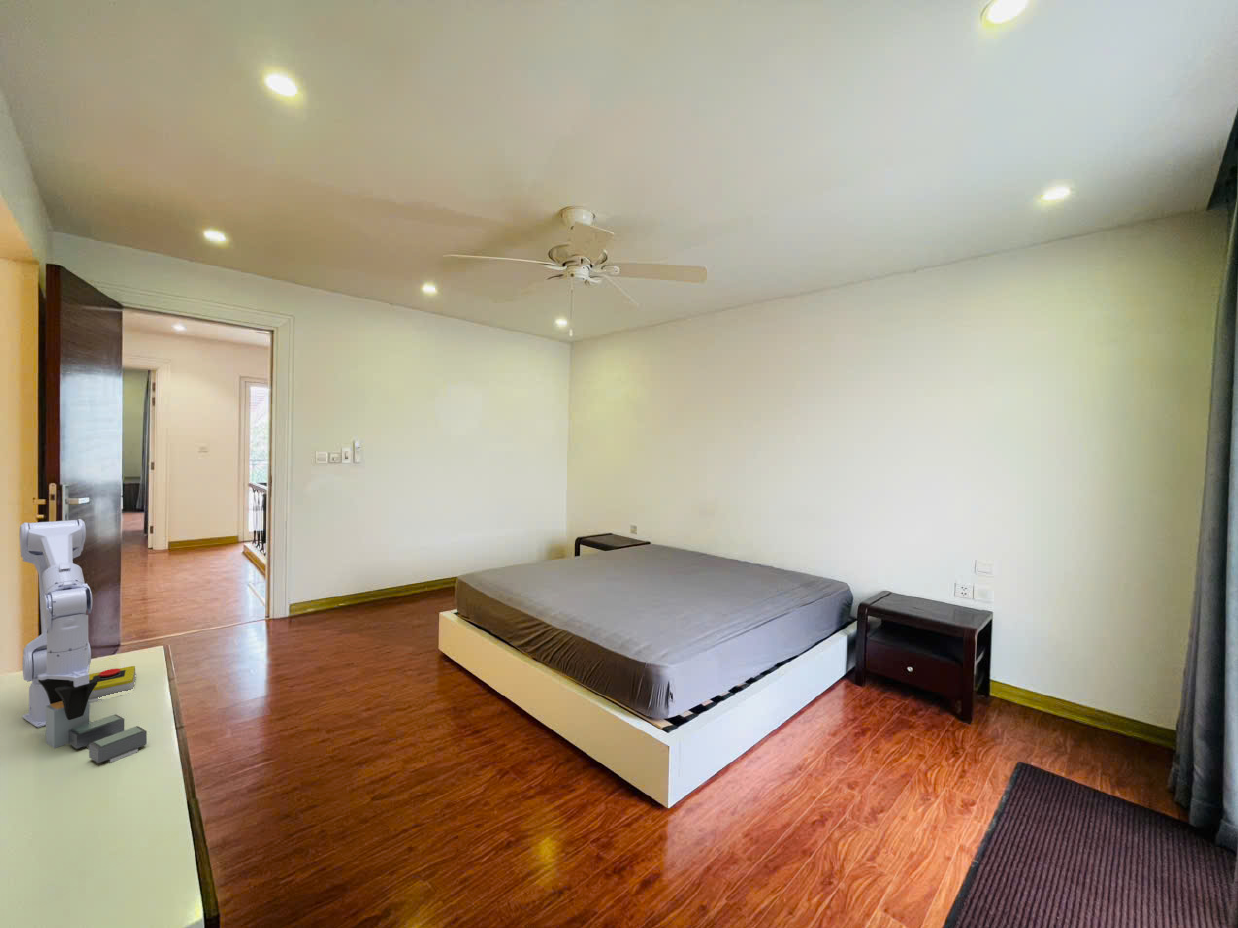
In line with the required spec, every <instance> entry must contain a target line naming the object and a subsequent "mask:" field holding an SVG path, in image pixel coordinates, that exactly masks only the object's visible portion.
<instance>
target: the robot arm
mask: <svg viewBox="0 0 1238 928" xmlns="http://www.w3.org/2000/svg"><path fill="white" fill-rule="evenodd" d="M86 535H87V529H86V522H85V521H84V520H83V519H81V518H79V519H73V520H72V519H71V520H70V519H69V520H57V521H56V520H55V521H39V522H38V521H37V522H28V521H27V522H23V523H22V524H21V525H19V537H18V538H19V548H20V557H21V558H22V561H23V562H25V563H28V564H33V565H34V567H35V569H36V571H37V573H38V588H39V589H38V590H39V609H40V626H41V634H40V635H38V636H37V637H35V638H34V639H33V640H31V641H29V642H28V643H27V644H26V645H25V647H24V648H23V654H22V655H23V656H22V678H23V680H24V681H26V682H28V683H29V682H31V683H30V684H29V685H30V686H29V687H28V713H25V714H23V715H22V719H24V720H25V721H27V722H29V724H31V725H33V726H34V727H36V728H41V727H44V726H45V727H46V706H47V705H50V704H53V703H56V702H60V701H62V702H63V705H64V709H65V714H66V717H67V719H68V720H72V719H75V718H78V717H81V716H83V715H84V712H85V709H86V705H87V702H88V699H89V697H90V694H91V692H92V691H93V689H94V688H95V686H96V685H97V683H98V680H96V679H92V680H89V674H90V673H89V671H90V667H91V666H90V665H91V662H92V649H91V645H90V644H91V643H90V642H89V641H90V640H89V614H91V613H92V609H93V593H92V589H91V588H90V586H89V585H88V583H86V582H85V578H84V573H83V569H82V567H81V566H80V565H79V564H76V563H74V561H73V560H74V559H76V558H78V557H80V556H81V555H82V552H83V551H84V546H85V543H86V537H87V536H86Z"/></svg>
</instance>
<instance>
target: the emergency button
mask: <svg viewBox="0 0 1238 928" xmlns="http://www.w3.org/2000/svg"><path fill="white" fill-rule="evenodd" d="M88 674H89V680H92V679H96V680H98V683H97V685H96V686H95V688H94V689H93V691H92V692H91V694H90V697H89V699H88V700H90V704H91V703H95V701H96V702H99V701H98V700H101V701H103V700H102V699H98V697H99V698H100V697H102V696H106V695H110V694H114V693H118V692H122V691H128V690H131V689H133V687H134V688H135V685H134V682H135V683H136V679H135V675H136V676H137V673H136V666H135V665H131V666H126V667H120V668H110V669H106V670H103V671H98V672H93V673H88Z"/></svg>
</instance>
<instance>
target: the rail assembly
mask: <svg viewBox="0 0 1238 928" xmlns="http://www.w3.org/2000/svg"><path fill="white" fill-rule="evenodd" d="M147 739H148V738H147V730H146V729H143V728H142V727H140V726H138V725H136V726H133V727H131V728H128V729H125V718H123V717H122V716H120V715H118V714H116V713H115V714H112V715H109V716H105V717H103V718H101V719H97V720H94V721H90V723H88V724H85V725H82V726H79V727H76V728H73V729H71V730H69V743H68V744H69V745H70V746H71V747H73V748H74V749H76V750H77V749H81V748H83V747H85V748H87V750H89V751H88V756H89V758H90V759H91V760H93V761H94V762H95V763H96V764H100V763H102V762H105V761H107V762H108V763H109V764H111V763H114V762H116V761H118V760H121V759H124V758H126V757H129V756H131V755H134V754H136V753H138V752H139V748H142V747H144V746H146V745H147V744H148V743H147Z"/></svg>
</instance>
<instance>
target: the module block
mask: <svg viewBox="0 0 1238 928" xmlns="http://www.w3.org/2000/svg"><path fill="white" fill-rule="evenodd" d="M90 704H91V703H90V700H88V702H87V705H86V709H85V712H84V715H83V716H81V717H78V718H75V719H72V720H68V719H67V717H66V714H65V709H64V705H63V702H62V701H60V702H56V703H53V704H50V705H47V706H46V725H45V743H46V744H47V745H49V746H50V747H52V748H53V749H56V748H59V747H61V746H64V745H68V744H69V730H71V729H73V728H76V727H79V726H82V725H85V724H88V723H91V721H90V712H91V711H90V710H91V709H90V707H91V705H90Z"/></svg>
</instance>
